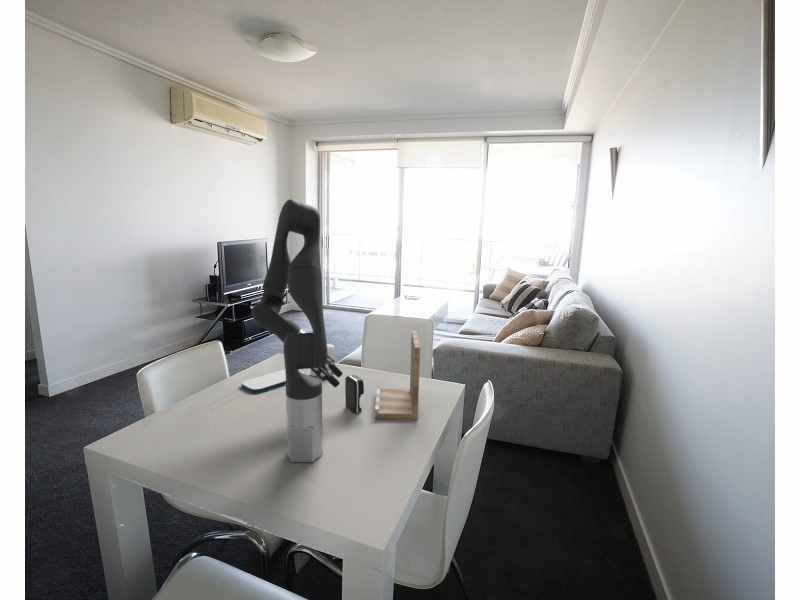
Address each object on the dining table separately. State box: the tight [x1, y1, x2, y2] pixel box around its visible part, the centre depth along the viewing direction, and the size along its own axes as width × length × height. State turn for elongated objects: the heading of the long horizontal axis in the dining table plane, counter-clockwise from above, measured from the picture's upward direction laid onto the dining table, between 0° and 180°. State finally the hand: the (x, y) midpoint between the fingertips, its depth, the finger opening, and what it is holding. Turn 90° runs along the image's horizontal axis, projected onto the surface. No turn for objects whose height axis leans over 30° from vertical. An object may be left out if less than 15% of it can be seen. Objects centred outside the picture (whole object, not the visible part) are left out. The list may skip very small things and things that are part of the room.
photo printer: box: [310, 343, 336, 377], centre depth 169 cm, size 10×4×12 cm, turn 123°
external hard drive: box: [241, 368, 306, 394], centre depth 159 cm, size 24×12×2 cm, turn 140°
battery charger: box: [344, 374, 365, 414], centre depth 137 cm, size 7×4×11 cm, turn 37°
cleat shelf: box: [374, 330, 421, 421], centre depth 139 cm, size 20×14×24 cm
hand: (339, 380), depth 136 cm, fingers open, 8 cm apart
